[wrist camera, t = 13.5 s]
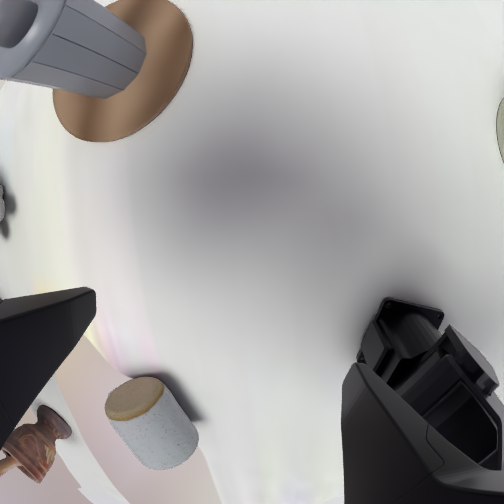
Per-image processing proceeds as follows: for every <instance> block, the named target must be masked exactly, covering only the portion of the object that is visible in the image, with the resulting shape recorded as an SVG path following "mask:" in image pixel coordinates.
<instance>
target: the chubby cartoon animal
mask: <svg viewBox="0 0 504 504" xmlns="http://www.w3.org/2000/svg"><path fill="white" fill-rule="evenodd" d="M4 214H5V204H4V200H3V187H2V186H1V185H0V221H2V220H3V218H4Z"/></svg>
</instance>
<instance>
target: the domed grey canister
mask: <svg viewBox="0 0 504 504" xmlns="http://www.w3.org/2000/svg"><path fill="white" fill-rule="evenodd" d="M146 54H147V53H146V45H145V38H144V36H142V35H141V34H140V33H139V32H138V31H136V30H135V29H134V28H133V27H131V26H130V25H129V24H127V23H126V22H124V21H123V20H122V19H120V18H119V17H118V16H116V15H115V14H113V13H112V12H110V11H109V10H108V9H106V8H105V7H103V6H102V5H100V4H99V3H97V2H96V1H94V0H0V79H1V80H8V81H15V82H21V83H27V84H33V85H38V86H44V87H49V88H53V89H58V90H63V91H67V92H72V93H76V94H80V95H84V96H88V97H94V98H102V99H107V98H109V97H111V96H113V95H115V94H117V93H119V92H122V91H123V90H125V88H126V87H127V86H128V85H129V84H130V83H131V82H132V81H133V80H134V79H135V77H136V76H137V75H138V73H139V72H140V70H141V67H142V64H143V62H144V59H145V57H146Z"/></svg>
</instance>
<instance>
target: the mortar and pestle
mask: <svg viewBox="0 0 504 504" xmlns="http://www.w3.org/2000/svg"><path fill="white" fill-rule="evenodd" d="M37 418H38V421H37V423H36V424H23V425H22V426H20V427H18V428H16V429H15V430H14V431H13V432H12V433H11V435H10V436H9V438H8V439H7V441H6V442H5V444H4V446H3V447H2V451H3V452H4V453H5V455H6V456H7V457H6V458H5V459H2V460H0V477H1V476H2V475H3V474H5V473H6V472H7V471H9V470H10V469H12V468H14V467H16V466H17V467H18V468H19V469H20V470H21V471H22V472H23V473H25V474H26V475H27V476H28V477H29V478H31V479H32V480H34V481H35V482H37V483H40V482H41V481H42V479H43V478H44V477H45V475H46V473H47V472H48V471H49V469H50V467H51V466H52V464H53V461H54V456H55V454H56V448H55V441H56V439H59V438H60V439H67V438H68V437H69V436H70V435H71V429H70V426H68V425H67V424H66V423H65V422H64V421H63V420H62V419H61V418H60V417H59V416H58V415H57V414H56V413H55V412H54V411H53V410H51V409H50V408H48V407H46V406H39V408H38V410H37Z"/></svg>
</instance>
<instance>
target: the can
mask: <svg viewBox="0 0 504 504" xmlns="http://www.w3.org/2000/svg"><path fill="white" fill-rule="evenodd" d="M497 137H498V143H499V148H500V152H501V155H502V158H503V161H504V99H503V100H502V102H501V104H500V106H499V109H498V114H497Z"/></svg>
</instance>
